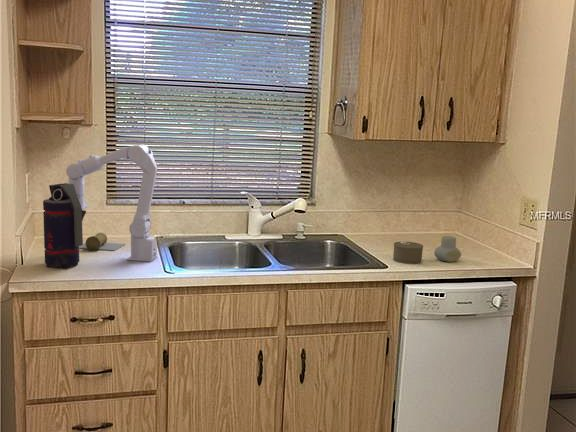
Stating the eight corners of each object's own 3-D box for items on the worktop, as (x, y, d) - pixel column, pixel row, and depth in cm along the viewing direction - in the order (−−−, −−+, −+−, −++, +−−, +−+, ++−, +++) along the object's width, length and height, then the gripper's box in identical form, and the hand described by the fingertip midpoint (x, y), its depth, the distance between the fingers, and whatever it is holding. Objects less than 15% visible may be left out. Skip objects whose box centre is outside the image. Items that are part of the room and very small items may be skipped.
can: (401, 265, 245) (403, 248, 244) (387, 257, 256) (388, 241, 255) (427, 263, 249) (429, 247, 248) (412, 256, 260) (413, 241, 259)
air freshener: (440, 263, 250) (442, 239, 249) (430, 258, 258) (432, 235, 256) (463, 262, 254) (466, 239, 252) (452, 257, 261) (455, 234, 260)
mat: (125, 244, 258) (125, 243, 258) (114, 251, 247) (114, 250, 247) (88, 242, 260) (88, 241, 260) (76, 248, 248) (76, 247, 248)
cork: (98, 235, 244) (108, 230, 255) (84, 237, 245) (94, 231, 255) (101, 250, 245) (110, 244, 256) (86, 251, 246) (96, 245, 256)
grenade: (37, 266, 219) (35, 184, 214) (60, 259, 230) (58, 180, 225) (69, 271, 214) (67, 187, 209) (90, 264, 225) (89, 183, 220)
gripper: (75, 191, 240) (75, 225, 242) (57, 196, 226) (58, 232, 228) (92, 192, 239) (92, 226, 242) (75, 197, 225) (76, 233, 228)
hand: (77, 229), depth 235 cm, fingers closed
